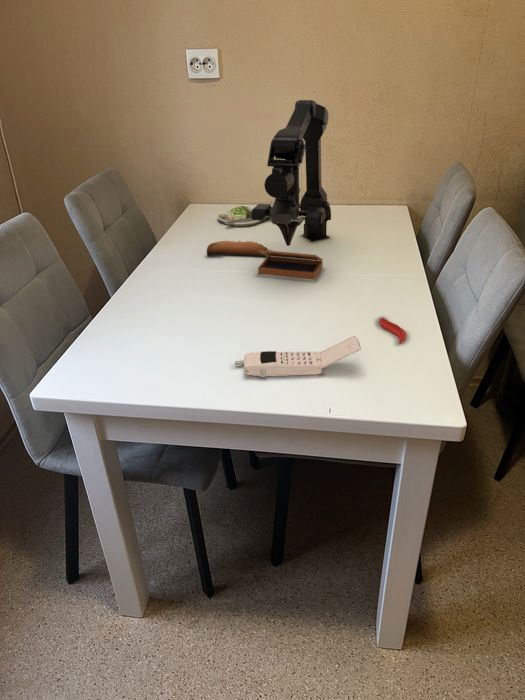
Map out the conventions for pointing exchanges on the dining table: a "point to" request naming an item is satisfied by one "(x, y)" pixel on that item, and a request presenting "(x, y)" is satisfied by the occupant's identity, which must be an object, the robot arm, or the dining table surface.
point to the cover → (291, 255)
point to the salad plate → (239, 216)
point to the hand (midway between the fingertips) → (288, 245)
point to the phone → (291, 266)
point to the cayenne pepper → (393, 329)
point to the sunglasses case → (235, 248)
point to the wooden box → (290, 273)
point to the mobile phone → (296, 360)
